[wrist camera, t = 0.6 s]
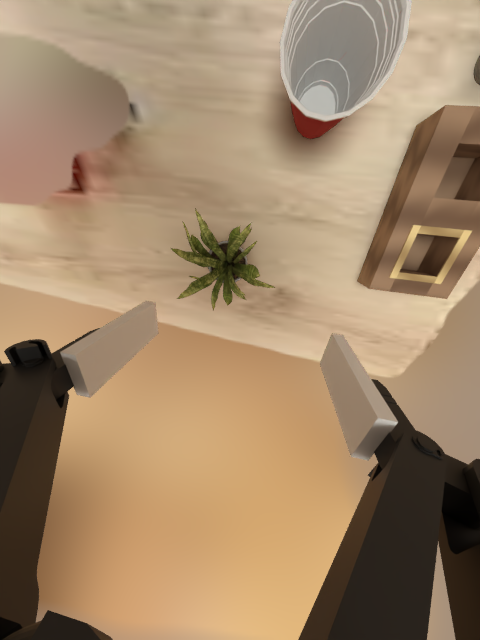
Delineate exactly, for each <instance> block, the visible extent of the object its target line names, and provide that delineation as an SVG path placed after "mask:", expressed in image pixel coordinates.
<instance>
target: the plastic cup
mask: <svg viewBox="0 0 480 640" xmlns="http://www.w3.org/2000/svg"><path fill="white" fill-rule="evenodd" d="M411 3H412V1H411V0H292V2H291V4H290V6H289V8H288V11H287V15H286V20H285V24H284V28H283V32H282V36H281V40H280V63H281V76H282V79H283V82H284V85H285V87H286V90H287V93H288V96H289V98H290V101H291V107H292V114H293V117H294V122H295V125H296V128H297V130H298V132H299V133H300V134H301V135H302V136H303V137H306V138H310V139H312V138H317V137H320V136H322V135H323V134H324V133H326V132H327V131H328V130H330V129H331V128H332V127H334V126H335V125H336V124H337V123H339V122H340V121H341V120H342V119H343V118H345V117H348V116H349V115H351V114H352V113H353V112H355V111H356V110H358V109H359V108H361V107H362V106H363V105H365V104H366V103H368V102H369V101H370V100H372V99H373V98H374V96H375V95H376V94H377V92H378V91H379V90H380V88H381V87H382V86H383V85H384V83H385V82H386V81H387V79H388V78H389V77H390V75H391V74H392V73H393V70H394V68H395V66H396V63H397V61H398V59H399V56H400V54H401V51H402V49H403V47H404V44H405V42H406V39H407V33H408V25H409V18H410V10H411Z"/></svg>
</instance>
